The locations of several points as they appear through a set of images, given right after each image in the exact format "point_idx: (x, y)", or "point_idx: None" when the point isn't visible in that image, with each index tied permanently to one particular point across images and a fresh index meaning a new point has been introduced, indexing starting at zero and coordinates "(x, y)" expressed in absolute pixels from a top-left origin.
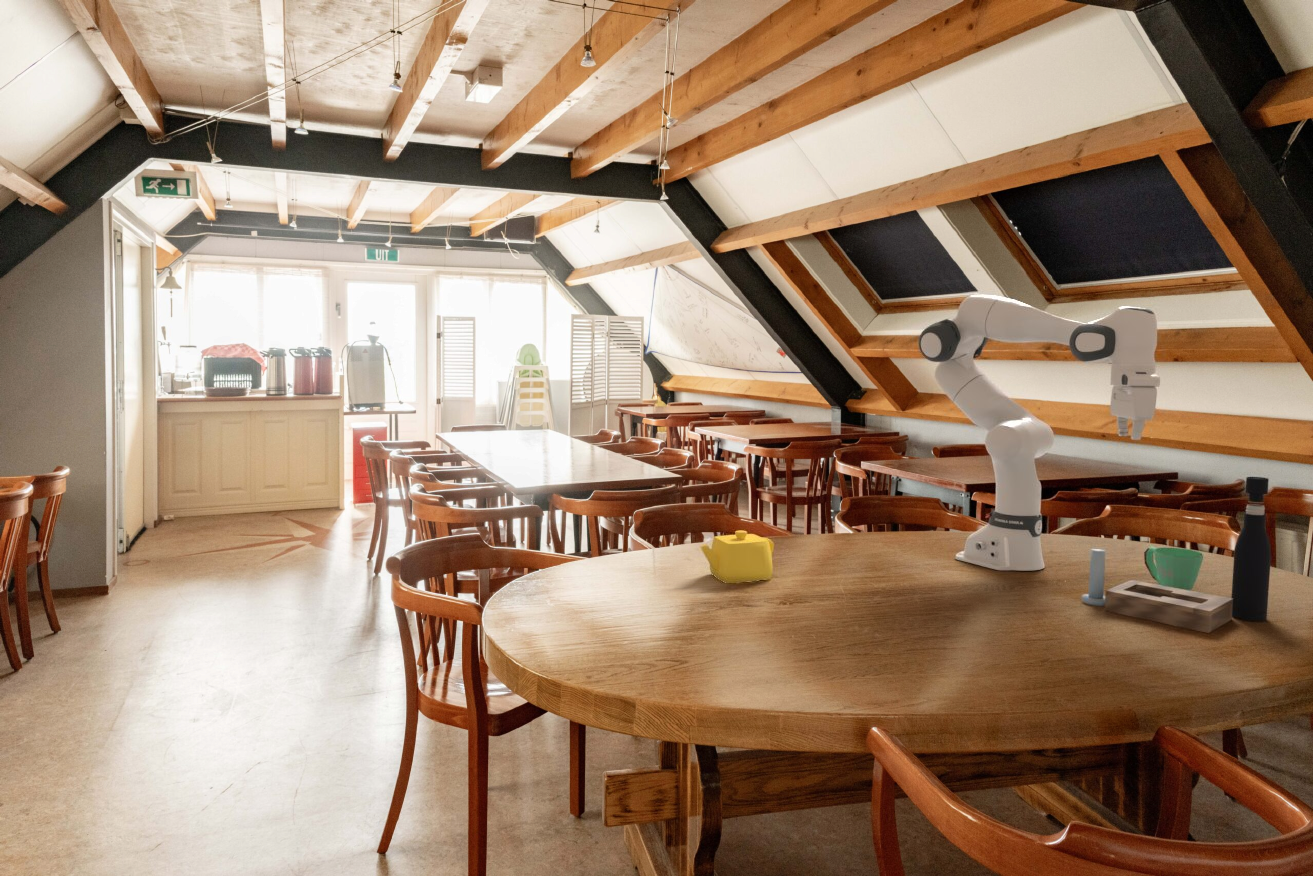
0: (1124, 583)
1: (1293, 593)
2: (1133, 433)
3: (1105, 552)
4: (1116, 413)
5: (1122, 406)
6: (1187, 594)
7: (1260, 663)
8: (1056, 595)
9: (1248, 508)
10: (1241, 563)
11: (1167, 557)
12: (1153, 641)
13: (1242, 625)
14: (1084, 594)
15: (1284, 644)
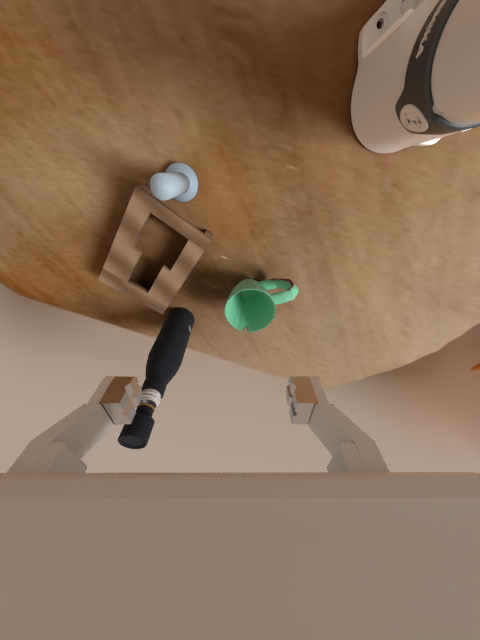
0: (187, 225)
1: (269, 369)
2: (91, 398)
3: (160, 199)
4: (337, 495)
5: (174, 602)
6: (160, 280)
7: (37, 280)
8: (203, 127)
9: (142, 395)
10: (157, 341)
11: (231, 294)
12: (42, 206)
13: None
14: (191, 169)
15: (109, 315)
